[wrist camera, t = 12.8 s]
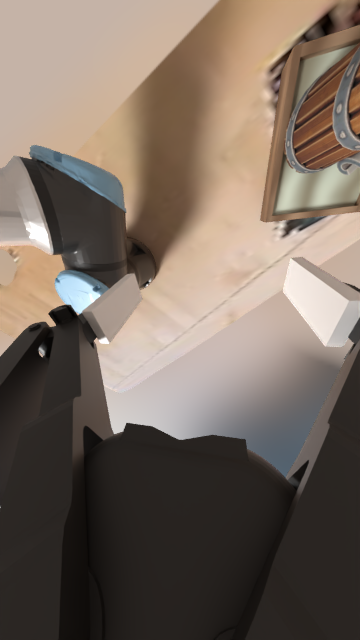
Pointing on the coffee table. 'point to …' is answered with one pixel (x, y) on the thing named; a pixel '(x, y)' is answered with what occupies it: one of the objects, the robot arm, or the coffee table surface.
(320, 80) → the mug
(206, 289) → the coffee table surface
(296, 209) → the framed mirror
